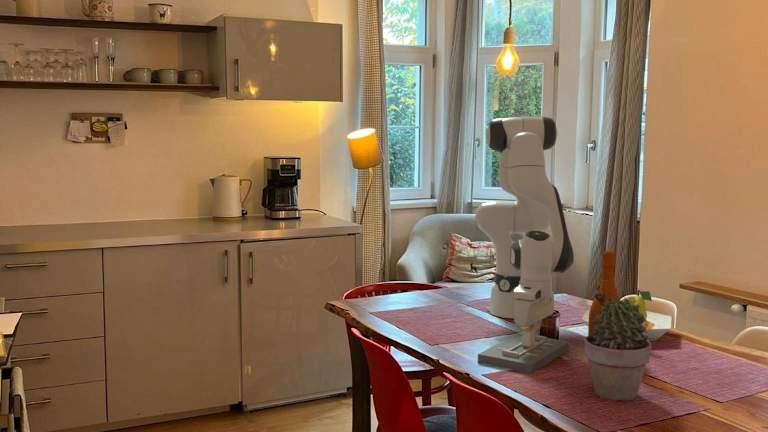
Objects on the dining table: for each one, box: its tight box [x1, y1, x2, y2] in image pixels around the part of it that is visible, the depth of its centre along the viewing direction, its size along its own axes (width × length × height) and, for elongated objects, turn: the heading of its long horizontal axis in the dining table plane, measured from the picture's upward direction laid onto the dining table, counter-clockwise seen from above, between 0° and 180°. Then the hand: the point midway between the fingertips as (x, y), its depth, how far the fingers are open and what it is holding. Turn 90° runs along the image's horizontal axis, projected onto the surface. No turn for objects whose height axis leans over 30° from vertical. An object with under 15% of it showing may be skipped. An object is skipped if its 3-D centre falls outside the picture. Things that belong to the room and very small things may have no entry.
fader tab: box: [520, 326, 536, 347], centre depth 219 cm, size 3×3×5 cm
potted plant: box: [578, 289, 663, 402], centre depth 186 cm, size 18×20×25 cm
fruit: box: [581, 289, 672, 342], centre depth 240 cm, size 30×26×14 cm
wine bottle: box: [587, 249, 622, 336], centre depth 218 cm, size 10×10×30 cm
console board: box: [477, 332, 570, 374], centre depth 218 cm, size 26×16×4 cm, turn 145°
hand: (534, 335), depth 222 cm, fingers closed
